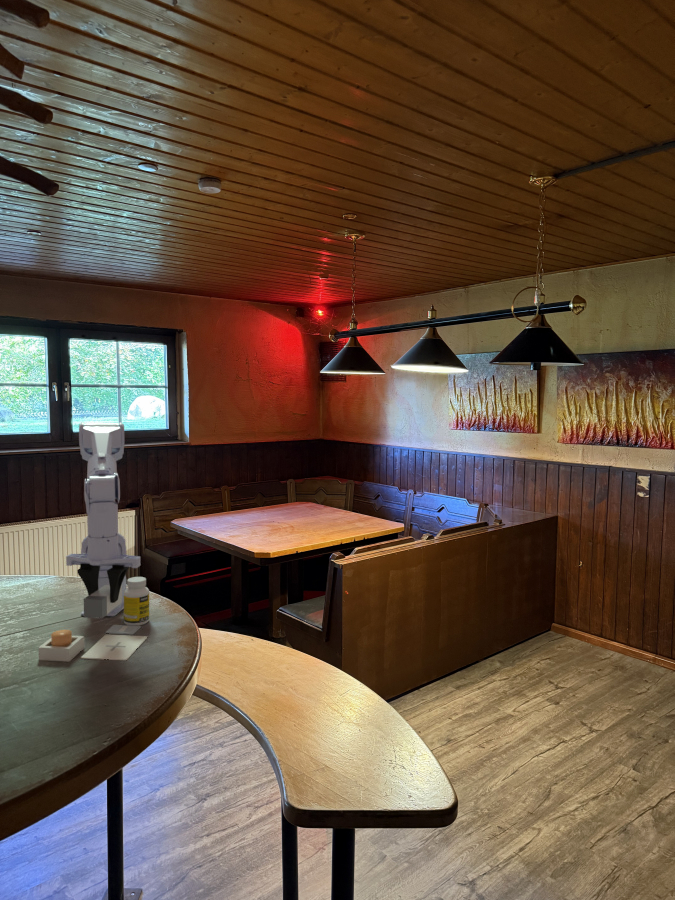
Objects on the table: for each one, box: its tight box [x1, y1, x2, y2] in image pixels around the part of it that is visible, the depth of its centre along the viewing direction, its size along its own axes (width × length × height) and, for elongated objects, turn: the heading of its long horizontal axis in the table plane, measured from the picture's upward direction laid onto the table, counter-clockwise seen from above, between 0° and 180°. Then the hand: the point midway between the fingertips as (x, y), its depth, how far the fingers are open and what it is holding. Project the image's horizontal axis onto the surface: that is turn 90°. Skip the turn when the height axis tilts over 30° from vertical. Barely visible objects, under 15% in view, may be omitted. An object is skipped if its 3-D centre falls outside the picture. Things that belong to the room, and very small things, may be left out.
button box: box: [37, 635, 85, 662], centre depth 118 cm, size 6×6×2 cm
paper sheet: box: [80, 634, 149, 661], centre depth 121 cm, size 11×9×1 cm
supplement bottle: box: [123, 576, 150, 626], centre depth 134 cm, size 5×5×10 cm
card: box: [105, 624, 141, 636], centre depth 130 cm, size 4×6×1 cm, turn 87°
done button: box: [50, 629, 73, 647], centre depth 118 cm, size 4×4×3 cm
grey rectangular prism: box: [83, 585, 122, 619], centre depth 122 cm, size 9×4×4 cm, turn 176°
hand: (104, 600), depth 122 cm, fingers closed on grey rectangular prism, 4 cm apart
